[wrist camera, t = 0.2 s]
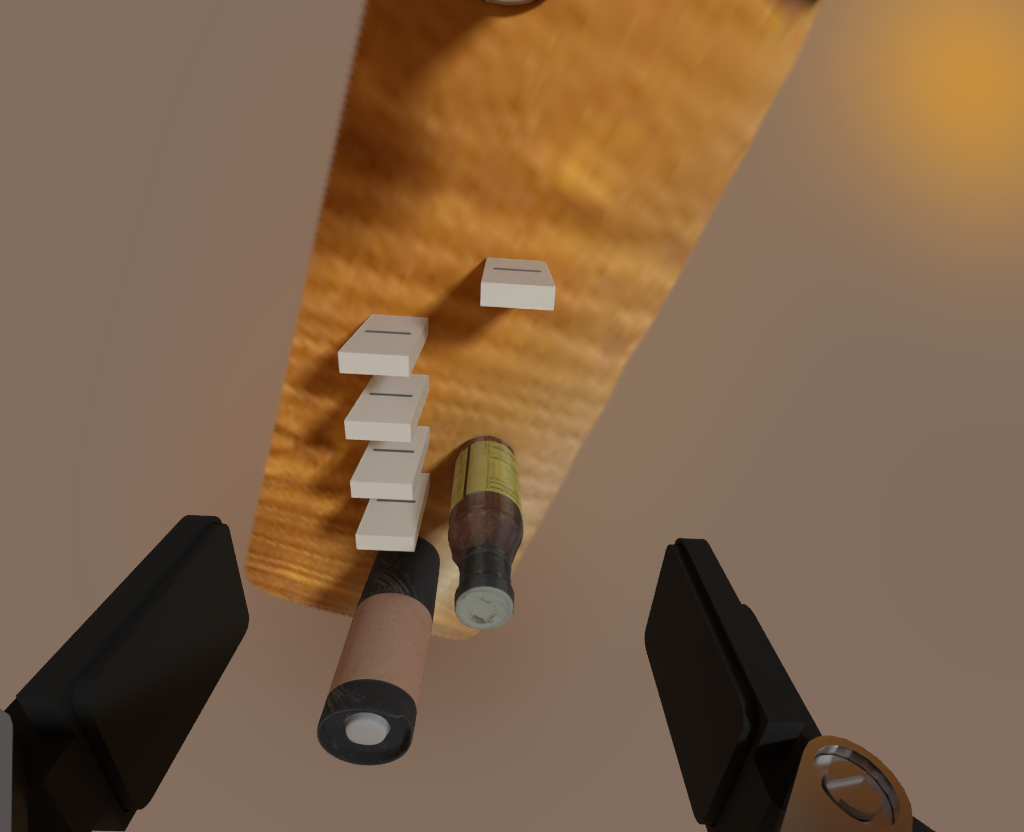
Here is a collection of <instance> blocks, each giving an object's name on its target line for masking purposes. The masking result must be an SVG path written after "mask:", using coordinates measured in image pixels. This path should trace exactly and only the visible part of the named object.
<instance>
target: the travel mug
mask: <svg viewBox="0 0 1024 832" xmlns="http://www.w3.org/2000/svg"><path fill="white" fill-rule="evenodd" d="M439 567H440V558H439V555H438V552H437V550H436V549H435V548H434V546H433V545H431V544H430V543H429V542H428V541H426V540H424V539H422V538H419V537H418V539H417V543H416V547H415V552H409V551H386V550H379V552H378V554H377V556H376V559H375V561H374V564H373V567H372V569H371V572H370V574H369V577H368V580H367V582H366V585H365V587H364V590H363V593H362V595H361V598H360V601H359V603H358V606H357V609H356V611H355V614H354V617H353V620H352V623H351V627H350V630H349V633H348V636H347V639H346V642H345V645H344V648H343V651H342V654H341V657H340V660H339V663H338V666H337V669H336V672H335V675H334V678H333V681H332V684H331V687H330V690H329V694H328V696H327V700H326V703H325V706H324V709H323V712H322V715H321V718H320V721H319V724H318V728H317V737H318V741H319V743H320V745H321V746H322V747H323V748H324V749H325V750H326V751H327V752H328V753H329V754H331V755H333V756H334V757H336V758H338V759H340V760H343V761H345V762H349V763H353V764H358V765H380V764H385V763H389V762H392V761H394V760H396V759H398V758H400V757H401V756H403V755H404V754H405V753H406V752H407V751H408V749H409V747H410V745H411V742H412V738H413V732H414V726H415V721H416V714H417V709H418V703H419V698H420V692H421V687H422V681H423V675H424V670H425V664H426V658H427V652H428V646H429V641H430V635H431V630H432V623H433V616H434V608H435V600H436V592H437V584H438V576H439Z"/></svg>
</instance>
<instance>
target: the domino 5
mask: <svg viewBox="0 0 1024 832" xmlns="http://www.w3.org/2000/svg"><path fill="white" fill-rule="evenodd" d="M555 289H556V286H555V284H554V281H553V279H552V276H551V274H550V271H549V268H548V266H547V263H546V261H534V260H518V259H503V258H487V259H486V263H485V268H484V272H483V276H482V281H481V301H480V306H490V307H506V308H523V309H539V310H553V309H554V299H555Z"/></svg>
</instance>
